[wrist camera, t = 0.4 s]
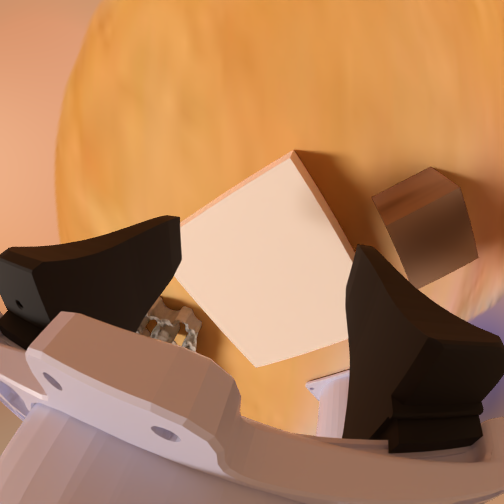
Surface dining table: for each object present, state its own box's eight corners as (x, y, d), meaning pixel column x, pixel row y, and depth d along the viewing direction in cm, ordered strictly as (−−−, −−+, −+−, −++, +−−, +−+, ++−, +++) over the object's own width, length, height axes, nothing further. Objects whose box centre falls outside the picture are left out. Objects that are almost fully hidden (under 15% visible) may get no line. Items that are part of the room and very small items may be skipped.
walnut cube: (451, 225, 18) (478, 257, 14) (397, 252, 21) (413, 291, 16) (430, 166, 17) (459, 187, 13) (371, 197, 19) (385, 225, 15)
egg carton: (193, 370, 33) (181, 396, 30) (138, 345, 33) (123, 369, 30) (211, 313, 28) (197, 343, 24) (142, 283, 28) (121, 309, 24)
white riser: (379, 300, 23) (384, 324, 20) (262, 344, 28) (256, 367, 25) (293, 149, 19) (289, 157, 16) (168, 230, 24) (151, 247, 21)
